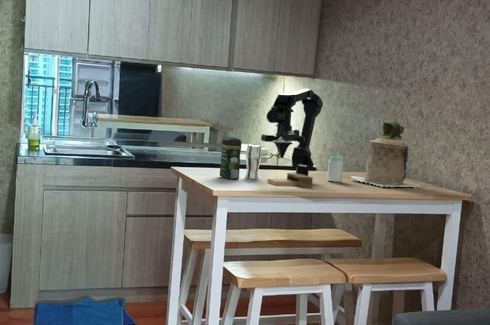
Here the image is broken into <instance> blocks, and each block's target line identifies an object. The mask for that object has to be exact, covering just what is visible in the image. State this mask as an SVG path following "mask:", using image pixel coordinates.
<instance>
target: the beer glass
mask: <svg viewBox="0 0 490 325" xmlns="http://www.w3.org/2000/svg"><path fill="white" fill-rule="evenodd" d="M245 151H246V152H245V153H246V154H245V161H246V162H245V163H246V164H245V165H246V173H245V175H244V176H245V178H246V179H248V178H249V179H250V180H258V179H259V167H260V164H261V160H262V146H261V145H255V144H247V146H246V150H245Z"/></svg>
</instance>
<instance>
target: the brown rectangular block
mask: <svg viewBox="0 0 490 325" xmlns="http://www.w3.org/2000/svg"><path fill="white" fill-rule="evenodd" d="M286 174H287V176H286V179H289V180H299V184H298V186H297V187H298V188H313V180H314V179H313V176H309V175H308V176H306V175H303V174H300V173H296V172H287V173H286Z"/></svg>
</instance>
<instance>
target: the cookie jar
mask: <svg viewBox="0 0 490 325" xmlns="http://www.w3.org/2000/svg"><path fill="white" fill-rule="evenodd" d="M382 122H383V123H382V127H381V129H382V132H383V134H382V135H381V136H379V137H378V138H375V139H371V140H369V145H370V149H369V152H368V157H367V162H366V169H365V171H366V176H365V177H364V176H353V175H352V176H350V179H351V181H352V180H355V181H357V182H359V181H360V182H359V183H363V182H365V183H364V184H367V183H369V184H368V185H371V184H373V185H372V186H374V185H377V186H381V187H382V188H383V187H385V188H387V187H391V188H395V187H404V186H399V185H403V184H404V185H410V186H415V187H416V186H417V187H419V188H420V184H418V183H413V182H412V183H411V182H407V181H405V179H406V175H407V174H406V172H407V171H406V170H407V163H408V161H409V145H408V144H407V143H406V142H405V141H404V140H403V139H402V136H401V134H403V133H404V132H405V127H404V126H403V125H401V124H400V122H398V121H397V120H392V119H390V120H389V119H387V118H385V117H384V118H383V119H382ZM377 186H376V187H377Z"/></svg>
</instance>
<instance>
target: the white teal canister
mask: <svg viewBox="0 0 490 325" xmlns="http://www.w3.org/2000/svg"><path fill="white" fill-rule="evenodd" d="M327 164H328V165H327V176H326V180H327V181H328V182H329V181H334V182H333V183H337V182H339V183H342V181H343V171H344V159H343V157H342V156H337V155H336V156H335V155H331V156H330V157H329V159H328V163H327Z"/></svg>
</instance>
